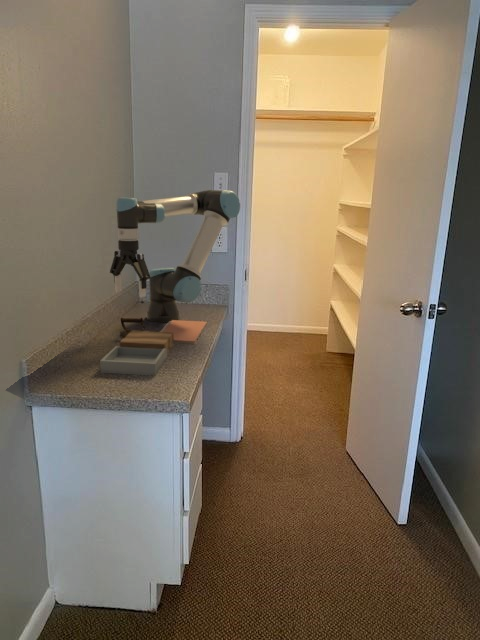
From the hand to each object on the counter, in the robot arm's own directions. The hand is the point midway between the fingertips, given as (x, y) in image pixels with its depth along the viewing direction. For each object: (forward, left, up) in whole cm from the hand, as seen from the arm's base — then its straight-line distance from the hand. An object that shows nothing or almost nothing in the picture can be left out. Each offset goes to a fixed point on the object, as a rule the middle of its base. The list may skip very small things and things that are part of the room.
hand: (130, 294), depth 177 cm
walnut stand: (+8, +17, -17) cm, 25 cm away
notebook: (-16, +12, -18) cm, 27 cm away
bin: (+21, +25, -17) cm, 37 cm away
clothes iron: (0, 0, -18) cm, 18 cm away
